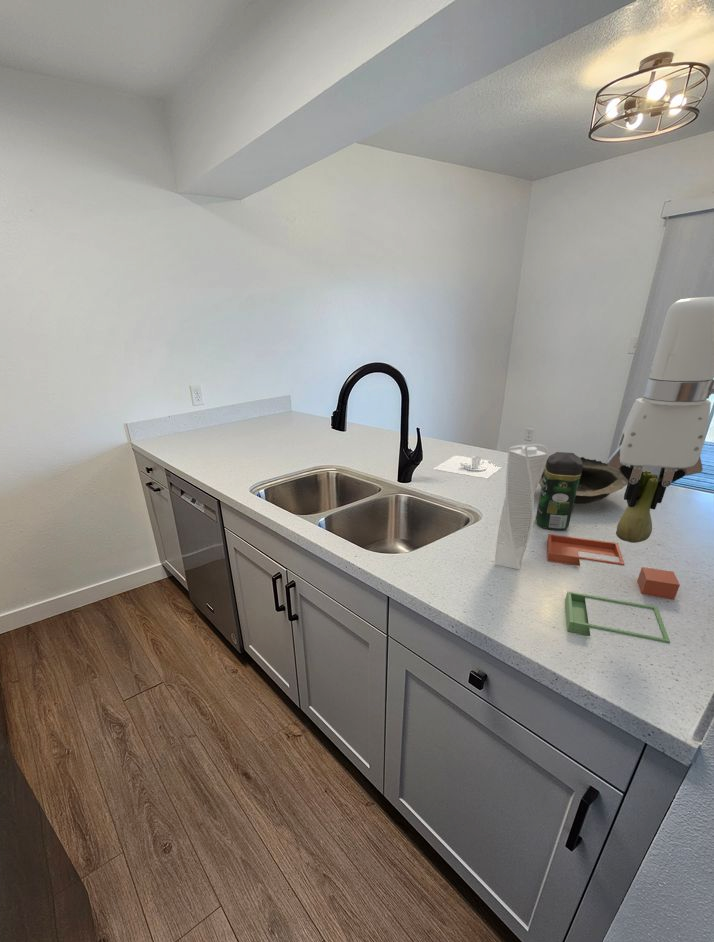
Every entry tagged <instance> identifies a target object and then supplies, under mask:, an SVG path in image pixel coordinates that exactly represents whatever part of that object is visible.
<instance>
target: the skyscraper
mask: <svg viewBox="0 0 714 942" xmlns="http://www.w3.org/2000/svg"><path fill="white" fill-rule="evenodd" d="M538 447H539V448H542V449H544V451H541V450H538ZM516 448H517V449H516ZM549 456H550V451H549V450H548V448H547V446H546V445H544V444H542V443H529V444H517V445H512V446H510V447H509V448H508V451H507V460H506V461H507V462H506V474H505V475H506V476H505V498H504V501H503V505H502V508H501V509H502V510H501V514H500V518H499V524H498V531H497V537H496V538H497V539H496V545H495V555H494V566H500V567H505V568H510V569H516V570H519V571H520V570H521V567H520V566H521V562H522V560H523V557H524V555H525V552H526V549H527V545H528V542H529V539H530V535H531V531H532V526H533V521H534V513H535V493H536V491H537V488H538V486H539V485H540V484H539V481H540V478H541V476H542V473H543V470H544V468H545V465H546V462H547V459H548V457H549Z"/></svg>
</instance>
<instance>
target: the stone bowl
mask: <svg viewBox="0 0 714 942" xmlns="http://www.w3.org/2000/svg"><path fill="white" fill-rule="evenodd" d="M579 458H580V459H581V460H582V463H583V467H582V473H581V476H580V480H579V484H578V488H577V492H576V497H575V501H574V505H581V504H582V505H583V504H585V505H586V504H591V503H593V502H597V501H601V500H603V499H605V498H608V496H610V495H611V494H613V493H616V492H618V491H620V490H622V489H624V488H625V487H627V484H628V480H627V478H626V477H625V476H624V475H623V474H622V473H621V472H620V471H617V470H615V469H613V468H611V467H609V466H608V465H607V462H606V463H605V462H602V461H601V460H597V459H595V458H594V459H590V458H586V457H584V456H581V457H580V456H579ZM547 460H548V459H547ZM546 463H547V462H546ZM545 467H546V465H545ZM544 472H545V468H544V470H543V473H542V476H541V478H540V481H539V484H538V485H540V487H542V482H543V477H544Z"/></svg>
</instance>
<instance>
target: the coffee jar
mask: <svg viewBox="0 0 714 942" xmlns="http://www.w3.org/2000/svg"><path fill="white" fill-rule="evenodd" d="M582 467H583V463H582V460H581V459H580V456H578V455H576V454H575V453H574V452H564V451H556V452H555V453H553V454H549V456H548V460H547V463H546V467H545V472H544V477H543V482H542V487H541V486H540V487H541V488H540V492H539V498H538V503H537V509H536V514H535V522H536V524H537V526H539V527H541V528H543V529H547V530H551V531H552V530H553V531H559V530H561V531H562V530H567V529H568V528H569V527H570V523H571V518H572V514H573V509H574V505H575V504H574V501H575V497H576V492H577V488H578V484H579V480H580V476H581V473H582Z"/></svg>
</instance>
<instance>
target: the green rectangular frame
mask: <svg viewBox="0 0 714 942" xmlns="http://www.w3.org/2000/svg"><path fill="white" fill-rule="evenodd" d="M565 595H566V596H565V598H564V602H565V603H564V604H565V615H566V628H567V632H569V633H570V632H571V633H575V634H580V635H585V636H589V637H590V636H591V631H590V628H592V629H597V630H601V631H606V632H611V633H616V634H622V635H627V636H632V637H636V638H641V639H647V640H652V641H656V642H662V643H665V644H666V643H667V644H670V643H671V640H670V638H669V635H668V633H667V630H666V627H665V624H664V622H663V620H662V617H661V614H660V612H659V609H658V607H657V606H653V605H648V604H642V603H638V602H637V603H636V602H631V601H626V600H619V599H614V598H609V597H603V596H597V595H590V594H586V593H579V592H574V591H566V594H565ZM586 599H591V600H599V601H603V602H610V603H615V604H621V605H626V606H632V607H637V608H641V609H642V608H643V609H649V610H653V613H654V617H655V619H656V621H657V624H658V627H659V630H660V632H661V635H662V637H658V636H654V635H648V634H643V633H638V632H633V631H628V630H624V629H623V630H622V629H618V628H612V627H607V626H602V625H597V624H594V623H593V624H592V623H589V617H588V610H587V609H588V608H587V602H586Z"/></svg>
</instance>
